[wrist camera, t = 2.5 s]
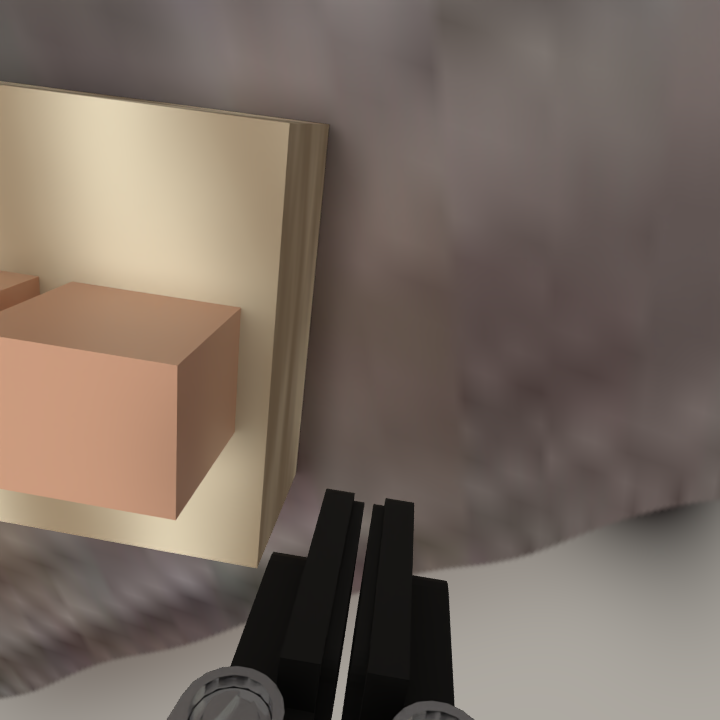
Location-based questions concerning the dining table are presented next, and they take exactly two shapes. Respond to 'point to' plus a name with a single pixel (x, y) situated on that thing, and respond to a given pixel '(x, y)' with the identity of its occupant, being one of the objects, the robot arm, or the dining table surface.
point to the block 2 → (115, 396)
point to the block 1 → (17, 288)
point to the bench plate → (176, 274)
